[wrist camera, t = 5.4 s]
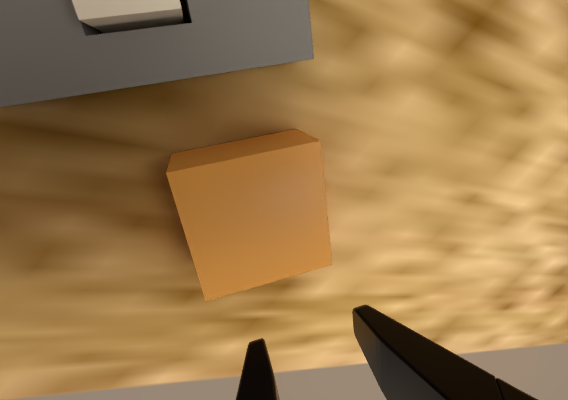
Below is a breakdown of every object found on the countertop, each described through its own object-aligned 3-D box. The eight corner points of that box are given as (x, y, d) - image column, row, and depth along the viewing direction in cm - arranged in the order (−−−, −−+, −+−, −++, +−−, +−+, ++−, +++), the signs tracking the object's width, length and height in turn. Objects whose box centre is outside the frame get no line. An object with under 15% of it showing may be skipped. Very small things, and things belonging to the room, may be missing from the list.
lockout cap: (203, 262, 19) (205, 301, 16) (171, 153, 17) (165, 173, 13) (309, 234, 21) (332, 264, 17) (296, 128, 18) (320, 140, 14)
